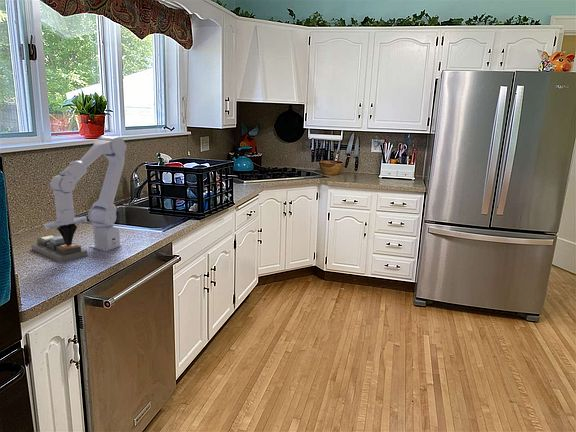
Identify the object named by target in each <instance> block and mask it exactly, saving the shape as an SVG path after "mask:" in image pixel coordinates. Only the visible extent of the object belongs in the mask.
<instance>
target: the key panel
mask: <svg viewBox="0 0 576 432" xmlns="http://www.w3.org/2000/svg"><path fill="white" fill-rule="evenodd" d="M51 235H52V234H51ZM52 236H54V237H56V235H54V234H53V235H52ZM72 244H75V245H77V247H73V248H69V249H63V248H61V247H60V246H61V245H65V243H62V244H58V245H54V244H52V243H50V240H48V241H44V240H41V237H37V238H36V243H32V244H31V245H30V246H31V250H33V251H35V252H37V253H39V254H41V255H43V256H46V257H48V258H50V259H52V260H55V261H57V262H59V263H64V262H67V261H73V260H75V259H79V258H83V257H87V256H88V250H87V249H85V248H82V246H81V245H78V244H76V243H74V242H72Z"/></svg>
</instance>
